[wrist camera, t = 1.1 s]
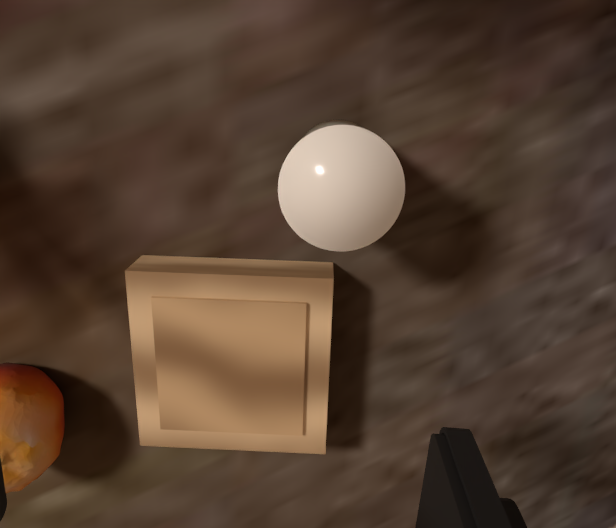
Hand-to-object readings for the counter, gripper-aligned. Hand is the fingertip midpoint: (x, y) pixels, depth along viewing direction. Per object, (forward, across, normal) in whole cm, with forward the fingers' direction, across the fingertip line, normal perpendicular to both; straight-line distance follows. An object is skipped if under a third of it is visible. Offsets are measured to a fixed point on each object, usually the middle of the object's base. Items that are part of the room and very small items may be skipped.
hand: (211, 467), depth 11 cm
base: (+22, +3, +9) cm, 24 cm away
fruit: (+22, +18, +14) cm, 32 cm away
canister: (+22, -3, -4) cm, 22 cm away
